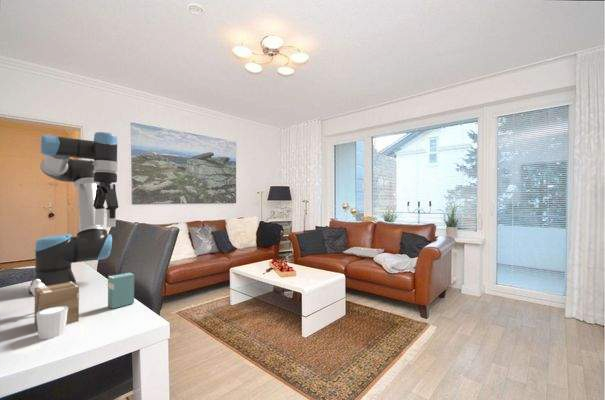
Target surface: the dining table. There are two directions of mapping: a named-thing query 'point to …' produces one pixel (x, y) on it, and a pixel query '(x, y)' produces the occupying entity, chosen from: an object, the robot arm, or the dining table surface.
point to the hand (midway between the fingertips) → (105, 225)
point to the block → (120, 290)
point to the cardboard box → (58, 299)
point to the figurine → (36, 286)
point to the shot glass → (52, 322)
